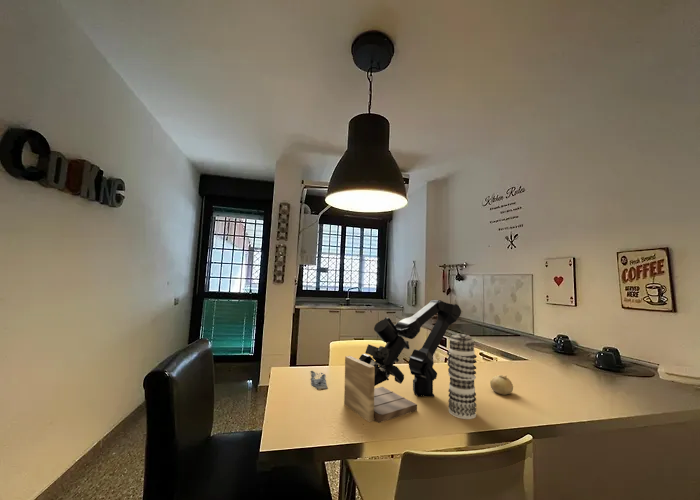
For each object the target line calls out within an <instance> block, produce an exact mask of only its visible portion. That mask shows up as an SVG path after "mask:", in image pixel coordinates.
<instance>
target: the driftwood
mask: <svg viewBox="0 0 700 500" xmlns="http://www.w3.org/2000/svg"><path fill="white" fill-rule="evenodd" d="M309 372H310V375H311V378H310V384H311V387H313V388H315V389H316V390H320V389H328V385H327V381H326V378H327V377H326V373H325V374H324V373H323V372H320V373H321V374H320V375H321V376H320V377H319V378H315V377H316V376H317V373H316V372H315V371H314V370H311V371H309Z"/></svg>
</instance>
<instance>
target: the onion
mask: <svg viewBox="0 0 700 500" xmlns="http://www.w3.org/2000/svg"><path fill="white" fill-rule="evenodd" d="M490 389H491V390H493V392H494V393H496V394H498V395H505V396H506V395H510V394H511V393H512V392H513V390H514V386H513V383H512V380H510V378H509V377H508V376H507V375H503V374H498V375H495V376H493V377H492V378H491V379H490Z"/></svg>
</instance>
